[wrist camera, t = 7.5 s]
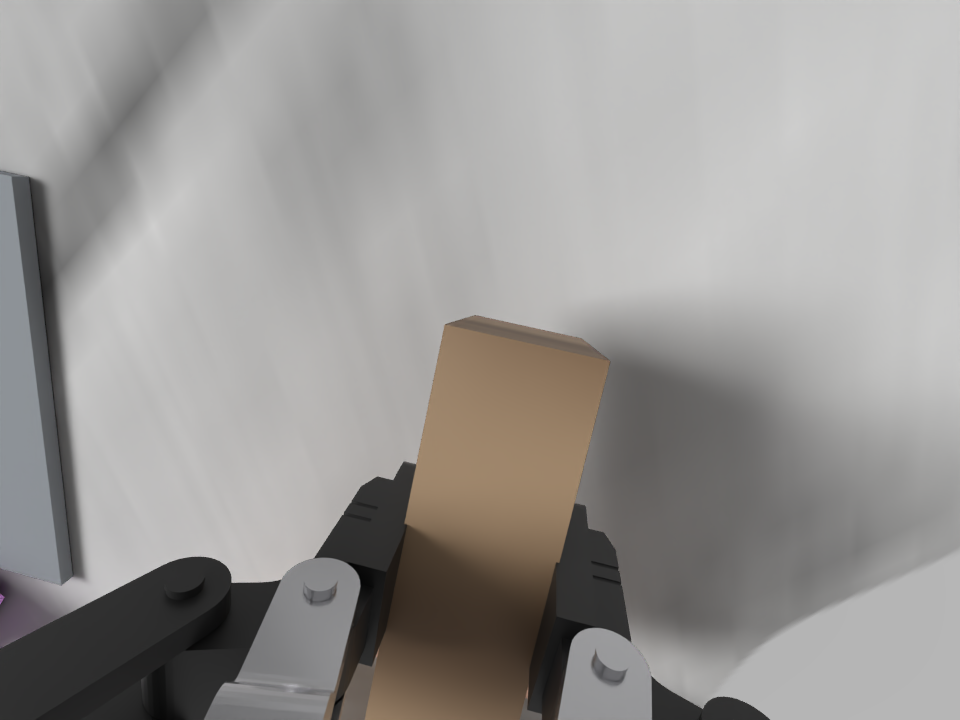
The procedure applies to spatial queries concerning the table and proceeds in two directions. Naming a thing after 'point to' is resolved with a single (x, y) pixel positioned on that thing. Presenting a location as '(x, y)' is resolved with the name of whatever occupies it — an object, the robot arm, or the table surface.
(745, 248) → the table surface
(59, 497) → the mat
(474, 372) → the upright plank on base
